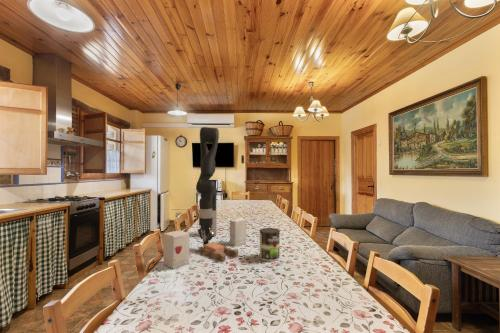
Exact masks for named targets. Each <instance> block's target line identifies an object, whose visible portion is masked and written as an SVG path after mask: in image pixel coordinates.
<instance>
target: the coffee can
mask: <svg viewBox="0 0 500 333" xmlns="http://www.w3.org/2000/svg"><path fill="white" fill-rule="evenodd" d="M280 233H281V232H280V229H278V228H274V227H265V228H261V229H259V259H260V260H262V261H265V262H275V261H279V259H280Z"/></svg>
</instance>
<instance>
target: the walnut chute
mask: <svg viewBox="0 0 500 333" xmlns="http://www.w3.org/2000/svg"><path fill="white" fill-rule="evenodd" d="M198 253H200V254H203V255H204V256H206V257H209V258H212V259H215V260H217V261H219V262H226V255H228V256H230V257H234V258H238V257H239V249H237V248H233V249H232V248H229V247H226V246H224V253H221V254H220V253H217V252H215V251H212V250H209V249H206V248H204V247H203V246H199V247H198Z"/></svg>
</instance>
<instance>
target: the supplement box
mask: <svg viewBox="0 0 500 333" xmlns="http://www.w3.org/2000/svg"><path fill="white" fill-rule="evenodd" d="M162 264H163V265H164V264H165V265H164V266H166V265H167V266H166V267H168V266H169V267H168V268H170V267H171V268H170V269H172V268H173V269H172V270H175V269H178V268H182V267H185V266H187V265H189V264H190V233H189V232H187V231H183V230H174V231H170V232H164V233H163V262H162ZM184 265H185V266H184ZM181 266H182V267H181ZM177 267H178V268H177ZM174 268H175V269H174Z"/></svg>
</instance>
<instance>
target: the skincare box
mask: <svg viewBox="0 0 500 333" xmlns="http://www.w3.org/2000/svg"><path fill="white" fill-rule="evenodd" d="M246 235H247V220H246V219H244V218H241V217H240V218H236V219H230V220H229V245H231V246H234V247H238V246H243V245H246V244H247V236H246Z"/></svg>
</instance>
